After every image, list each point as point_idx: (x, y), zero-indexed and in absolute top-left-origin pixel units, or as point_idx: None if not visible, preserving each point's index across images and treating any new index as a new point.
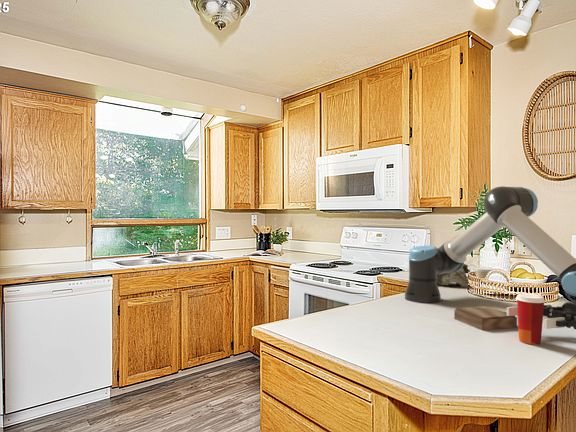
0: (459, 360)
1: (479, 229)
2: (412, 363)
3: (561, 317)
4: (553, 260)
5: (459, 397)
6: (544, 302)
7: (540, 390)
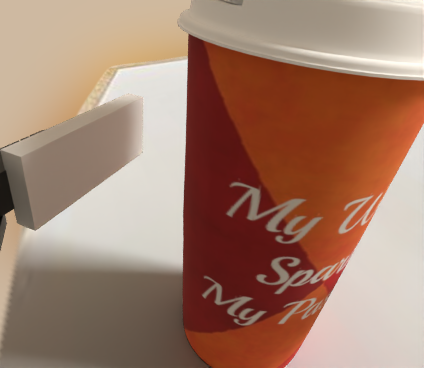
0: None
1: None
2: None
3: (31, 147)
4: None
5: (178, 58)
6: (178, 21)
7: (98, 82)
